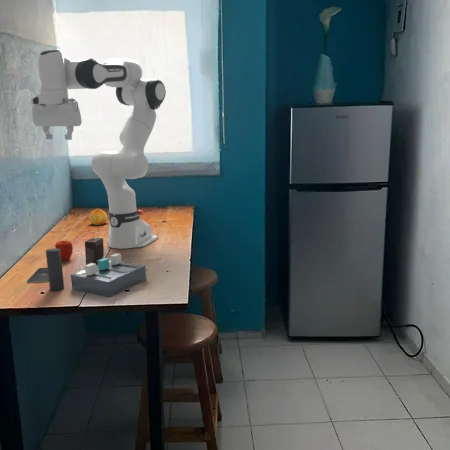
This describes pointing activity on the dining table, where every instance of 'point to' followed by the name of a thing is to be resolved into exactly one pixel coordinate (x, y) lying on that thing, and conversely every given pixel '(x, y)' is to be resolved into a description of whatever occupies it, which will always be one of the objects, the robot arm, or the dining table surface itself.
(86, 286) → the panel
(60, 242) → the apple
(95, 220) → the fruit
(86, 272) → the slider
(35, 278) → the smartphone
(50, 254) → the post
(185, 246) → the dining table surface
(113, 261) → the slider
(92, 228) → the dining table surface
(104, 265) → the slider mid
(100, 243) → the box
